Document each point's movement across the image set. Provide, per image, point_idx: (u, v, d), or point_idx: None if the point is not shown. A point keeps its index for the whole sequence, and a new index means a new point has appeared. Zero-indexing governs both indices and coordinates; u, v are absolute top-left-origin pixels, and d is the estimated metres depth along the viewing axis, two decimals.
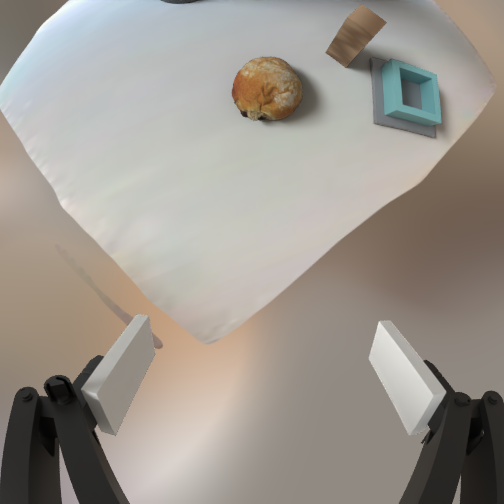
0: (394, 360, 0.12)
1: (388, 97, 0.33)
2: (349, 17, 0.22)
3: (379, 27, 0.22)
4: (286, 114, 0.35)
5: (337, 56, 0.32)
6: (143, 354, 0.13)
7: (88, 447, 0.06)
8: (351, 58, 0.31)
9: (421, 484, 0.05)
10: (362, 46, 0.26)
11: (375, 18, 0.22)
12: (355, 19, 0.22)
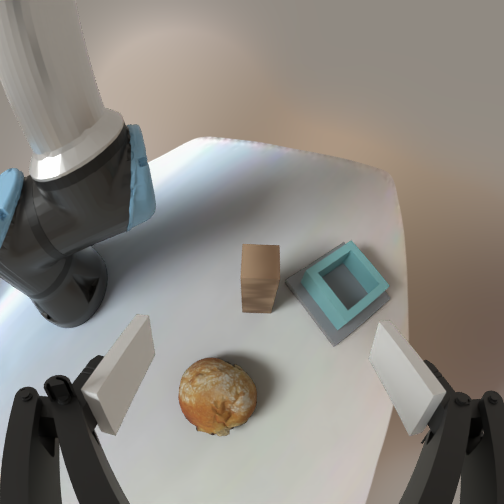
0: (394, 360, 0.12)
1: (329, 312, 0.36)
2: (242, 276, 0.28)
3: (277, 260, 0.29)
4: (252, 411, 0.30)
5: (256, 309, 0.37)
6: (143, 354, 0.13)
7: (88, 447, 0.06)
8: (270, 305, 0.35)
9: (421, 484, 0.05)
10: (274, 292, 0.31)
11: (265, 251, 0.30)
12: (249, 273, 0.28)
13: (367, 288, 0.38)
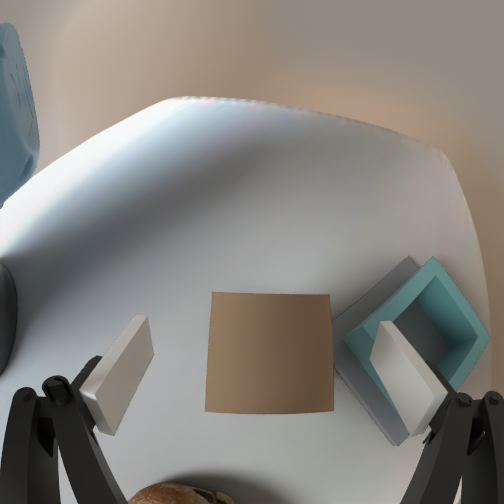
0: (395, 361, 0.12)
1: None
2: (211, 405, 0.07)
3: (325, 347, 0.08)
4: None
5: None
6: (142, 354, 0.13)
7: (86, 447, 0.06)
8: None
9: (422, 484, 0.05)
10: None
11: (287, 316, 0.09)
12: (232, 397, 0.08)
13: (450, 339, 0.18)
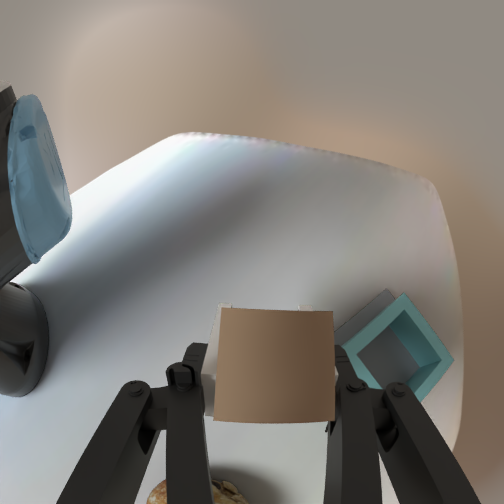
0: None
1: None
2: (219, 414, 0.08)
3: (327, 361, 0.09)
4: None
5: None
6: None
7: (198, 438, 0.07)
8: None
9: (337, 481, 0.06)
10: None
11: (293, 331, 0.09)
12: (240, 407, 0.08)
13: (419, 360, 0.22)
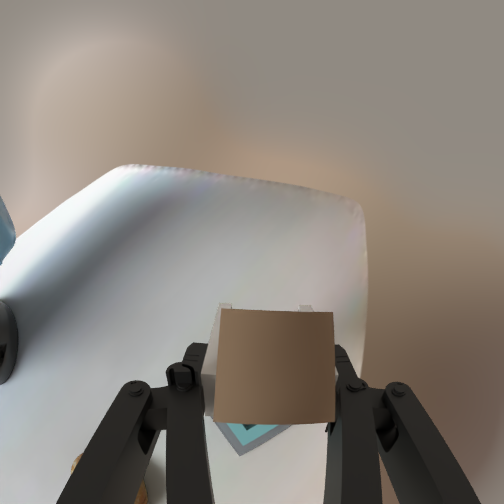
0: None
1: None
2: (219, 416, 0.08)
3: (327, 362, 0.09)
4: None
5: None
6: None
7: (198, 438, 0.07)
8: None
9: (337, 481, 0.06)
10: None
11: (293, 332, 0.09)
12: (239, 408, 0.08)
13: None
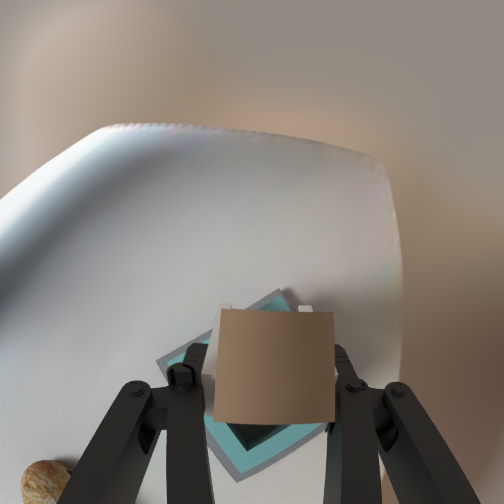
0: None
1: None
2: (219, 416, 0.08)
3: (327, 362, 0.09)
4: None
5: None
6: None
7: (198, 438, 0.07)
8: None
9: (337, 481, 0.06)
10: None
11: (293, 332, 0.09)
12: (239, 408, 0.08)
13: None
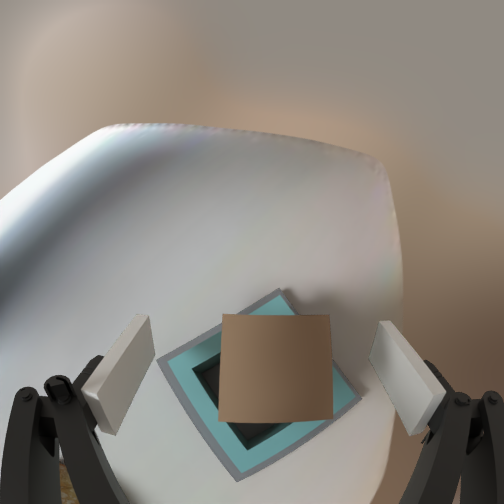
0: (394, 360, 0.12)
1: None
2: (224, 416, 0.08)
3: (325, 362, 0.09)
4: None
5: None
6: (143, 354, 0.13)
7: (88, 447, 0.06)
8: None
9: (421, 484, 0.05)
10: None
11: (291, 335, 0.10)
12: (243, 408, 0.08)
13: None
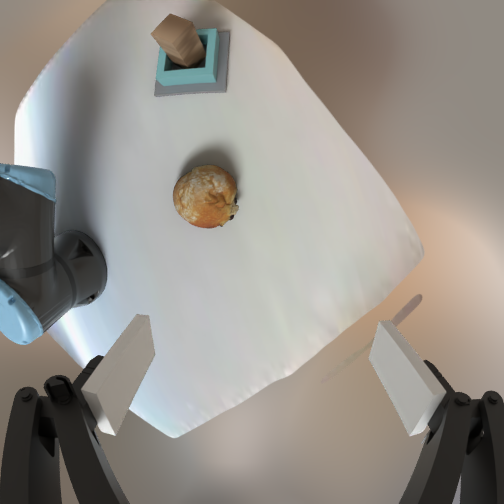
0: (394, 360, 0.12)
1: (197, 79, 0.36)
2: (172, 41, 0.25)
3: (178, 18, 0.24)
4: (232, 179, 0.41)
5: (197, 62, 0.35)
6: (143, 354, 0.13)
7: (88, 447, 0.06)
8: (202, 48, 0.33)
9: (421, 484, 0.05)
10: (196, 35, 0.28)
11: (166, 22, 0.24)
12: (173, 37, 0.25)
13: (206, 43, 0.35)
